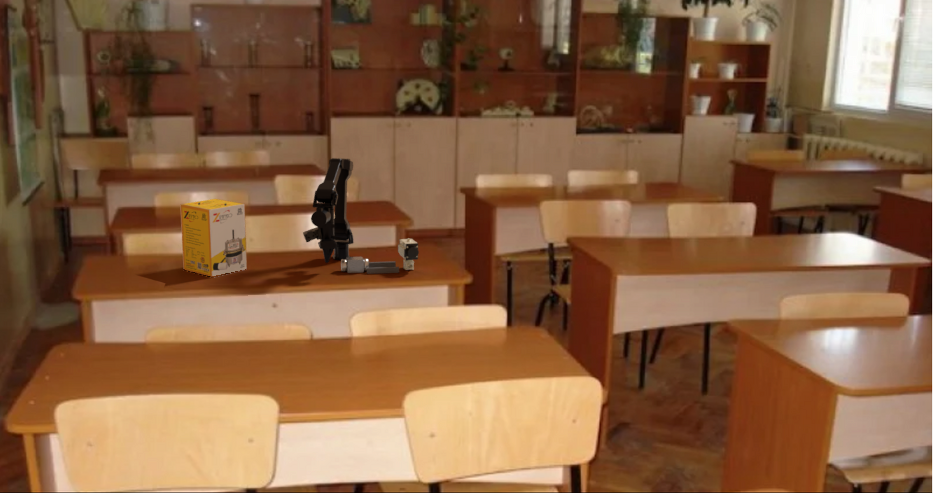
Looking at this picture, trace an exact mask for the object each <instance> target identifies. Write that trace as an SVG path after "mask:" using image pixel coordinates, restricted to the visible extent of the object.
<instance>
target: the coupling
mask: <svg viewBox="0 0 933 493" xmlns="http://www.w3.org/2000/svg"><path fill="white" fill-rule="evenodd" d="M369 262H370V261H369V258H364V257H363V256H350V257H346V259H341V260H340V269H341V272H346V273H347V274H355V273H356V274H357V273H361V274H362V273H365V271H367V268H369Z"/></svg>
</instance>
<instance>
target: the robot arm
mask: <svg viewBox="0 0 933 493" xmlns="http://www.w3.org/2000/svg"><path fill="white" fill-rule="evenodd" d="M353 170H354V161H352V160H351V159H350V158H341V157H338V158H337V157H332V158H330V159H329V161H328V168H327V171H326V174H325V176H324V180H323V182H321V183H320V184H318V186H317V188H316V190H315V191H314V195H313V196H314V197H313V202H312V208H316V209H315V210H316V211H314V212H313V213H312V214H311V217H310V221H311V223H312V225H314V226H315V227H313V228H311V229H308V230H305V231H304V232H303V231H302V235H303V238H304V239H305V242H306V243H310V242H311V241H314V240H317V241H318V242H317V244H318V248H319V250H322V253H323V258H324V262H325V263H327V264H328V263H329V262H330V260H331V257H332V258H333V260H335V261H337V260H340V261H341V259H346V257H351V256H350V251H349V250H350V249H349V247H350V246H349V245H353V244H354V243H355V242H354V235H353V231H352V229H351V224H350V223H349V221H348V218H347V209H348V208H347V206H348V205H347V204H348V203H347V201H348V182H349V180H350V177H351V176H352V172H353Z"/></svg>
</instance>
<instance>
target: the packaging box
mask: <svg viewBox="0 0 933 493" xmlns="http://www.w3.org/2000/svg"><path fill="white" fill-rule="evenodd" d="M179 206H180V207H179V208H180V225H181V227H180V229H181V243H182V244H181V246H182V264H183V266H182V267H183V268H182V270H183V269H185V270H189V271H193V272H197V273H201V274H204V275H208V276H216V275H221V274H225V273H230V274H232V273H231V272H234V273H236V272H235V271H238V272H241V271H240V270H242V271H245V269H246V270H248V269H247V268H248V267H247V266H248V265H247V264H248V262H247V238H246V237H247V236H246V235H247V234H246V233H247V232H246V230H247V229H246V204H245V203H241V202H236V201H229V200H225V199H220V198H212V199H210V198H209V199H205V200H198V201H192V202H185V203H181V204H180V205H179Z"/></svg>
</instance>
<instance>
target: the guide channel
mask: <svg viewBox="0 0 933 493" xmlns="http://www.w3.org/2000/svg"><path fill="white" fill-rule="evenodd" d="M396 264H397V263H396V261H395V260H394V261H369V268H367V270H366V274H367V275H368V274H369V275H373V274H391V273H393V274H394V273H395V274H396V273H397V274H398V273H400V266H396Z"/></svg>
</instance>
